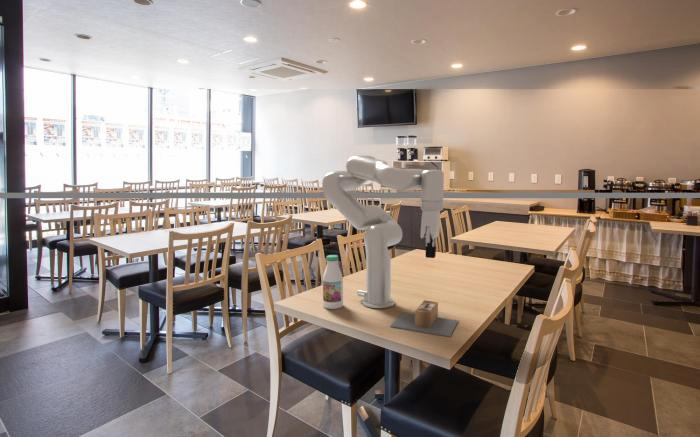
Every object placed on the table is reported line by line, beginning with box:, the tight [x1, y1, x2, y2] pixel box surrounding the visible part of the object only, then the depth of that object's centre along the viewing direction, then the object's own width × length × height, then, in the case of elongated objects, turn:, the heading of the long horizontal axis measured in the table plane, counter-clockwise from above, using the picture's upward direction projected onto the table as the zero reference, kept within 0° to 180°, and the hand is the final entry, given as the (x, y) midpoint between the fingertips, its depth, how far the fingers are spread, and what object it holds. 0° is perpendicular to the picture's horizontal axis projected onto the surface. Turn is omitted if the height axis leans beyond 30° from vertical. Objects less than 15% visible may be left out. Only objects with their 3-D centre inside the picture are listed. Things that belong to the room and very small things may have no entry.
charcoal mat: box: [389, 311, 459, 338], centre depth 136 cm, size 20×14×1 cm
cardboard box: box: [414, 299, 439, 328], centre depth 138 cm, size 5×5×12 cm
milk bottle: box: [322, 254, 344, 310], centre depth 153 cm, size 8×8×20 cm
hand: (430, 257), depth 140 cm, fingers closed
